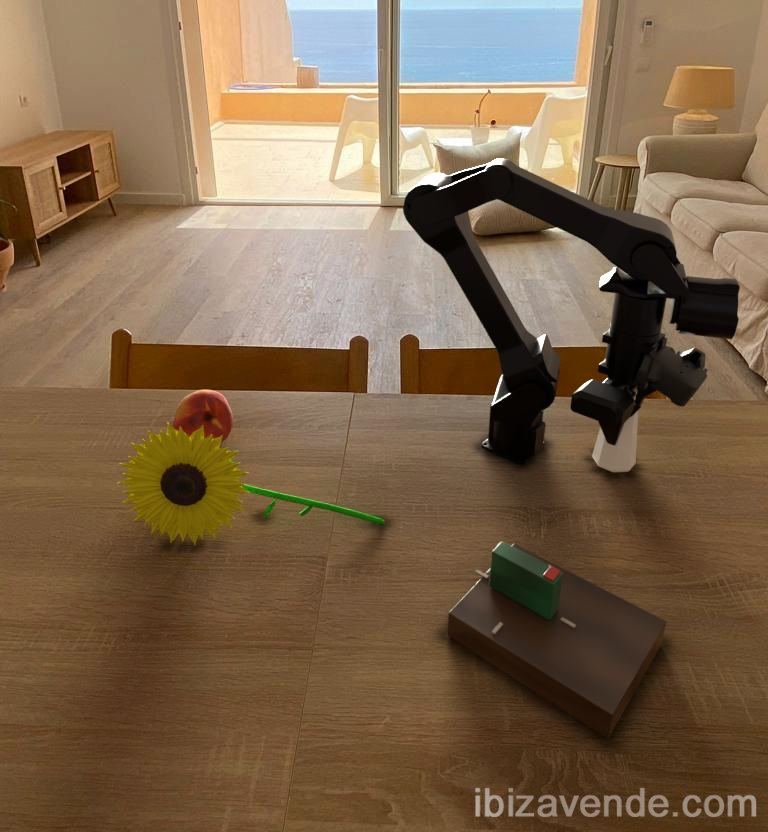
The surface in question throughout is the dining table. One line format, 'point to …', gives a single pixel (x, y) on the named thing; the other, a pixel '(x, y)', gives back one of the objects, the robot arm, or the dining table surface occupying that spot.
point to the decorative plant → (195, 485)
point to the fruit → (204, 414)
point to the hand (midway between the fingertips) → (617, 437)
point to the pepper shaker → (618, 448)
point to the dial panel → (564, 645)
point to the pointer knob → (526, 580)
